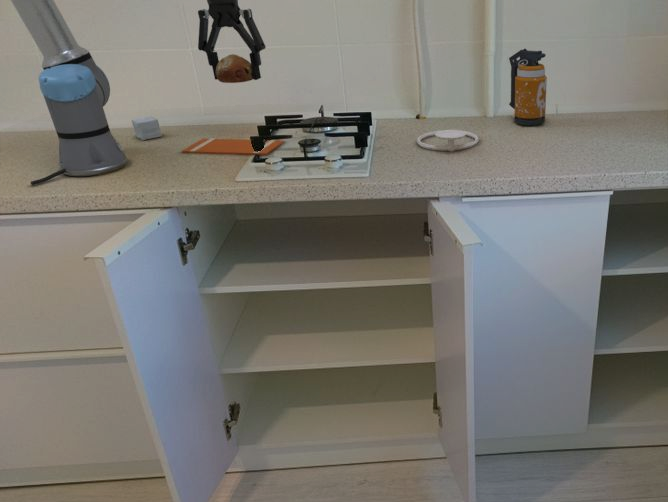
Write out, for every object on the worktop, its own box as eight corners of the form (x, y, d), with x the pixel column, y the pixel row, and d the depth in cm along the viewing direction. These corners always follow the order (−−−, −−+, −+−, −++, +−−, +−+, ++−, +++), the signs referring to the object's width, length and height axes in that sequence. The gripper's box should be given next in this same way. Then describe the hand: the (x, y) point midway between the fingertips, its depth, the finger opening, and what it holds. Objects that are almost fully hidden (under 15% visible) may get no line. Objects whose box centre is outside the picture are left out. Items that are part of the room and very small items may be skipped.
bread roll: (245, 88, 188) (230, 60, 186) (267, 74, 182) (252, 44, 179) (218, 96, 181) (203, 66, 178) (240, 81, 175) (224, 50, 172)
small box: (154, 133, 196) (150, 115, 194) (162, 136, 193) (158, 119, 190) (135, 137, 193) (130, 119, 190) (143, 140, 190) (138, 123, 187)
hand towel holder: (474, 116, 187) (485, 136, 170) (474, 132, 190) (485, 153, 173) (413, 119, 186) (418, 139, 168) (414, 135, 188) (419, 157, 171)
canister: (536, 128, 192) (539, 53, 181) (502, 124, 197) (503, 50, 186) (550, 121, 198) (553, 48, 187) (516, 117, 203) (518, 45, 192)
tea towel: (266, 155, 175) (266, 153, 175) (182, 152, 179) (181, 150, 178) (284, 142, 185) (283, 140, 185) (203, 140, 189) (203, 138, 188)
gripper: (268, -16, 170) (283, 76, 182) (185, -15, 174) (205, 75, 186) (256, -13, 164) (272, 81, 176) (169, -12, 168) (191, 81, 180)
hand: (238, 78), depth 181 cm, fingers closed on bread roll, 11 cm apart
